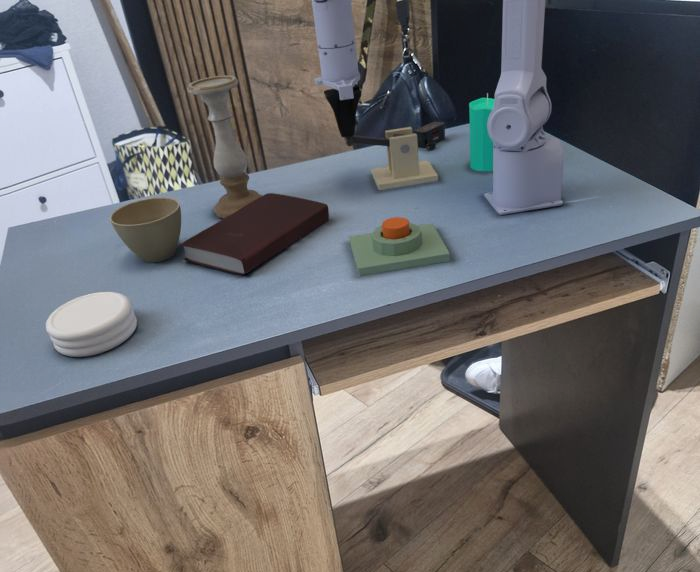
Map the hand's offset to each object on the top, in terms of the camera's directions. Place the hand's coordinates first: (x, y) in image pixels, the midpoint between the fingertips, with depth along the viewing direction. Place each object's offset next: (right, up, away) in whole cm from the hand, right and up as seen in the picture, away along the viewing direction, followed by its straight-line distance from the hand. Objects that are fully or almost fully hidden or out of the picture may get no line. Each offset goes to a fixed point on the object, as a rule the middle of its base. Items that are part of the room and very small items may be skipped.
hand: (347, 135), depth 104 cm
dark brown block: (+16, +4, +18) cm, 24 cm away
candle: (+24, -4, +5) cm, 25 cm away
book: (-13, -19, -9) cm, 24 cm away
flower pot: (-28, -21, -8) cm, 36 cm away
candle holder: (-18, -12, +3) cm, 21 cm away
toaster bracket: (+10, -6, +5) cm, 12 cm away
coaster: (-31, -33, -26) cm, 52 cm away
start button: (+7, -20, -19) cm, 28 cm away
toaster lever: (+5, -2, +2) cm, 5 cm away
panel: (+7, -22, -17) cm, 29 cm away
